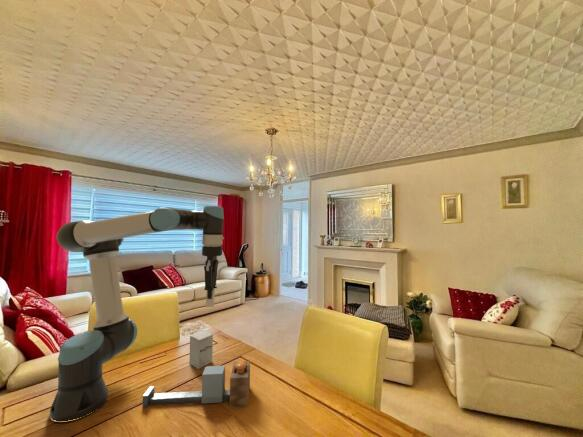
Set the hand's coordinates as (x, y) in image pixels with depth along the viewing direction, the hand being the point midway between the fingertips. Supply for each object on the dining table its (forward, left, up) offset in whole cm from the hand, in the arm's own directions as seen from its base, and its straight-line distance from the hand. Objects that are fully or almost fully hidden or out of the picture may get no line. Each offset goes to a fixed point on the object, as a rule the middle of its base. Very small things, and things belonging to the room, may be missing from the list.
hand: (210, 306), depth 95 cm
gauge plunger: (+13, -6, -26) cm, 29 cm away
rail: (-5, -6, -31) cm, 32 cm away
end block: (+13, -6, -31) cm, 34 cm away
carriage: (+3, -6, -31) cm, 32 cm away
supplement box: (-8, +18, -32) cm, 37 cm away
